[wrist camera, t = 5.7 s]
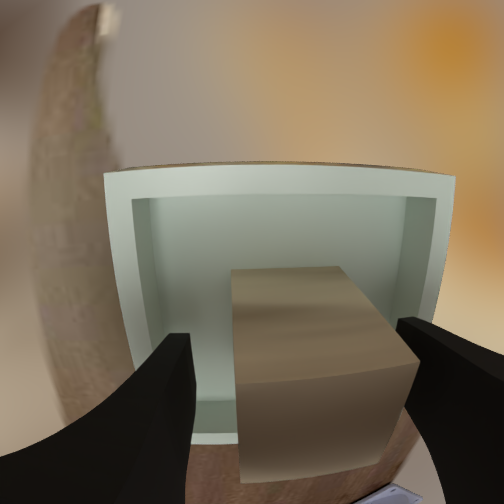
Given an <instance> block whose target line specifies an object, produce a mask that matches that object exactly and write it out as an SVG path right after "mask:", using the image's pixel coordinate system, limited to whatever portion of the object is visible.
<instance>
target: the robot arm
mask: <svg viewBox="0 0 504 504" xmlns="http://www.w3.org/2000/svg"><path fill="white" fill-rule="evenodd" d="M395 331H396V332H397V333H398V335H399V336H400V337H401V338H402V339H403V341H404V342H405V343H406V344H407V346H408V347H409V348H410V349H411V350H412V352H413V353H414V354H415V355H416V357H417V358H418V359H419V360H420V364H419V367H418V370H417V373H416V376H415V378H414V381H413V384H412V387H411V389H410V392H409V395H408V397H407V400H406V402H405V405H404V407H405V409H406V410H407V412H408V414H409V415H410V417H411V419H412V420H413V422H414V424H415V426H416V427H417V429H418V431H419V432H420V434H421V436H422V438H423V440H424V442H425V443H426V445H427V448H428V450H429V452H430V455H431V457H432V460H433V463H434V465H435V468H436V471H437V474H438V476H439V480H440V483H441V486H442V489H443V493H444V497H445V501H446V504H504V355H502V354H498V353H496V352H494V351H491V350H489V349H486V348H484V347H481V346H479V345H477V344H474V343H472V342H470V341H468V340H466V339H463V338H461V337H459V336H457V335H455V334H453V333H451V332H449V331H447V330H445V329H442V328H440V327H438V326H436V325H434V324H432V323H429V322H427V321H425V320H422V319H420V318H417V317H414V316H412V317H405V318H398V321H397V326H396V330H395ZM196 390H197V383H196V376H195V369H194V362H193V355H192V347H191V339H190V333H169V334H168V335H167V336H166V337H165V338H164V339H163V341H162V342H161V343H160V344H159V345H158V346H157V348H156V349H155V350H154V351H153V352H152V353H151V355H150V356H149V357H148V358H147V359H146V360H145V361H144V362H143V363H142V365H141V366H140V367H139V368H138V369H137V370H136V371H135V372H134V373H133V374H132V375H131V376H130V377H129V378H128V379H127V380H126V381H125V382H124V383H123V384H122V385H121V386H120V387H119V388H118V389H117V390H116V391H115V392H114V393H112V394H111V395H110V396H109V397H108V398H107V399H105V400H104V401H103V402H102V403H100V404H99V405H98V406H96V407H95V408H94V409H92V410H91V411H90V412H88V413H87V414H86V415H84V416H83V417H81V418H79V419H78V420H76V421H75V422H73V423H72V424H70V425H68V426H67V427H65V428H63V429H62V430H60V431H59V432H57V433H55V434H53V435H51V436H49V437H48V438H46V439H43V440H41V441H39V442H37V443H35V444H33V445H31V446H28V447H26V448H24V449H21V450H19V451H16V452H13V453H10V454H7V455H4V456H1V457H0V504H185V482H186V471H187V465H188V458H189V452H190V445H191V439H192V433H193V426H194V420H195V414H196ZM422 500H423V498H422V497H421V496H419V495H417V494H415V493H413V492H411V491H409V490H407V489H405V488H402V487H400V486H398V485H396V484H389V485H388V486H386V487H384V488H382V489H381V490H379V491H377V492H375V493H373V494H371V495H370V496H368V497H366V498H364V499H362V500H360V501H358V502H356V503H354V504H418V503H419V502H421V501H422Z"/></svg>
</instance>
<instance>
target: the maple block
mask: <svg viewBox="0 0 504 504" xmlns="http://www.w3.org/2000/svg"><path fill="white" fill-rule="evenodd" d="M231 294H232V325H233V351H234V374H235V395H236V414H237V432H238V449H239V465H240V480H241V483H259V482H272V481H282V480H291V479H300V478H307V477H314V476H320V475H326V474H332V473H337V472H342V471H347V470H352V469H356V468H361V467H365V466H369V465H373V464H377V463H378V462H379V460H380V458H381V456H382V454H383V452H384V450H385V448H386V446H387V444H388V442H389V439H390V437H391V435H392V433H393V431H394V428H395V426H396V424H397V422H398V419H399V417H400V414H401V412H402V410H403V407H404V405H405V402H406V400H407V397H408V395H409V392H410V389H411V387H412V384H413V381H414V378H415V376H416V373H417V370H418V367H419V364H420V360H419V359H418V358H417V357H416V355H415V354H414V353H413V352H412V350H411V349H410V348H409V347H408V346H407V344H406V343H405V342H404V341H403V339H402V338H401V337H400V336H399V335H398V333H397V332H396V331H395V330H394V329H393V328H392V326H391V325H390V324H389V323H388V322H387V320H386V319H385V318H384V317H383V316H382V315H381V313H380V312H379V311H378V310H377V309H376V308H375V306H374V305H373V304H372V303H371V302H370V301H369V300H368V298H367V297H366V296H365V295H364V294H363V293H362V291H361V290H360V289H359V288H358V287H357V286H356V285H355V284H354V282H353V281H352V280H351V279H350V278H349V277H348V276H347V275H346V273H345V272H344V271H343V270H342V269H341V268H340V267H339V266H327V267H299V268H267V269H231Z"/></svg>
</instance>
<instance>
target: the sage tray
mask: <svg viewBox="0 0 504 504" xmlns="http://www.w3.org/2000/svg"><path fill="white" fill-rule="evenodd" d="M455 179H456V176H452V175H447V174H442V173H437V172H431V171H426V170H420V169H411V168H401V167H390V166H377V165H363V164H345V163H324V162H323V163H322V162H277V161H275V162H274V161H272V162H271V161H270V162H269V161H261V162H260V161H257V162H256V161H254V162H210V163H187V164H170V165H155V166H143V167H131V168H125V169H121V170H116V171H111V172H107V173H104V186H105V198H106V209H107V219H108V228H109V236H110V244H111V251H112V258H113V265H114V272H115V278H116V284H117V289H118V295H119V300H120V305H121V310H122V315H123V320H124V325H125V329H126V334H127V338H128V343H129V347H130V351H131V355H132V359H133V363H134V367H135V371H136V370H137V369H138V368H139V367H140V366H141V365H142V363H143V362H144V361H145V360H146V359H147V358H148V357H149V356H150V355H151V353H152V352H153V351H154V350H155V349H156V348H157V346H158V345H159V344H160V343H161V342H162V341H163V339H164V338H165V337H166V336H167V335H168V334H169V333H190V339H191V347H192V355H193V362H194V369H195V376H196V383H197V390H196V414H195V420H194V426H193V433H192V439H191V444H238V432H237V414H236V395H235V374H234V351H233V325H232V294H231V269H267V268H299V267H327V266H339V267H340V268H341V269H342V270H343V271H344V272H345V273H346V275H347V276H348V277H349V278H350V279H351V280H352V281H353V282H354V284H355V285H356V286H357V287H358V288H359V289H360V290H361V291H362V293H363V294H364V295H365V296H366V297H367V298H368V300H369V301H370V302H371V303H372V304H373V305H374V306H375V308H376V309H377V310H378V311H379V312H380V313H381V315H382V316H383V317H384V318H385V319H386V320H387V322H388V323H389V324H390V325H391V326H392V328H393V329H394V330H396V326H397V321H398V318H405V317H412V316H414V317H417V318H420V319H422V320H425V321H427V322H429V323H432V320H433V315H434V312H435V308H436V303H437V299H438V295H439V291H440V286H441V281H442V275H443V271H444V266H445V261H446V255H447V249H448V242H449V236H450V229H451V220H452V213H453V203H454V192H455ZM403 408H404V407H403ZM401 413H402V412H401ZM400 415H401V414H400ZM398 420H399V419H398Z"/></svg>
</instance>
